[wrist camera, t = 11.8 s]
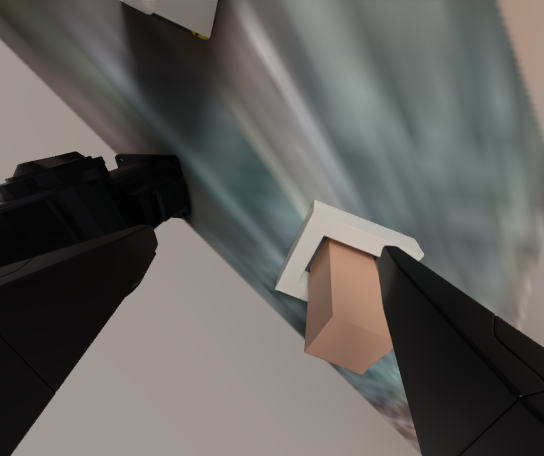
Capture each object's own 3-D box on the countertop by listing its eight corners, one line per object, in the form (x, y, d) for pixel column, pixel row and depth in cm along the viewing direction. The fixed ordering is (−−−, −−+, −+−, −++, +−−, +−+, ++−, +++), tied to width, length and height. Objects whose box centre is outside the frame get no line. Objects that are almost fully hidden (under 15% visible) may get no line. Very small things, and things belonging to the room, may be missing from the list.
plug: (310, 265, 25) (304, 352, 17) (328, 233, 23) (332, 316, 14) (350, 280, 25) (364, 375, 17) (372, 250, 23) (402, 343, 15)
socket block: (278, 273, 27) (274, 289, 25) (314, 199, 21) (313, 211, 19) (359, 304, 27) (362, 322, 25) (414, 238, 22) (424, 254, 19)
